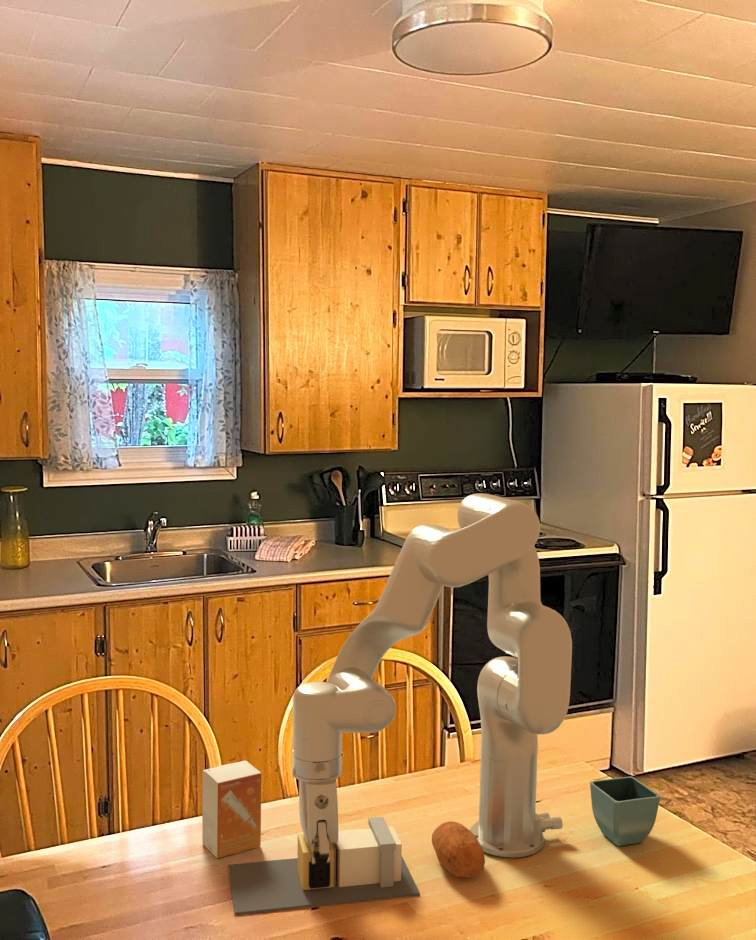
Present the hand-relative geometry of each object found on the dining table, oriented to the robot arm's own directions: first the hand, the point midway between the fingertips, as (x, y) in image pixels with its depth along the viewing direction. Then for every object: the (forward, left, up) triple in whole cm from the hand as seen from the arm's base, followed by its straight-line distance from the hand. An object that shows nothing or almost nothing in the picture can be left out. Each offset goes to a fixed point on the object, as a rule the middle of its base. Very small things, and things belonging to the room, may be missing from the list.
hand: (315, 874), depth 150 cm
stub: (0, 0, -1) cm, 1 cm away
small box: (+12, -14, -1) cm, 19 cm away
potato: (-23, 0, -1) cm, 23 cm away
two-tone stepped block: (-8, 0, -1) cm, 8 cm away
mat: (-1, 0, -1) cm, 1 cm away
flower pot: (-54, -4, -1) cm, 54 cm away
